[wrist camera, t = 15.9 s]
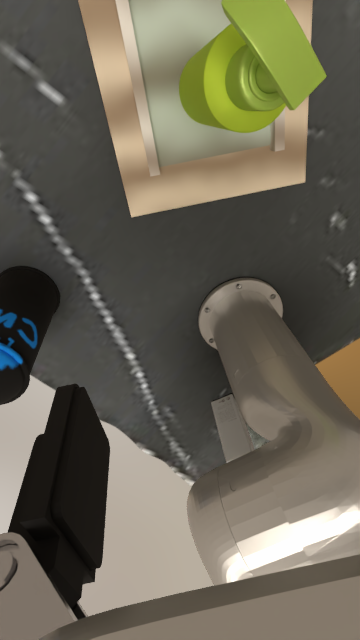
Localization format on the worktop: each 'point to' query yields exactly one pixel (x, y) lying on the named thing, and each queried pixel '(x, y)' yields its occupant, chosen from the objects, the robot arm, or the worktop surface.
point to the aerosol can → (23, 325)
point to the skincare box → (231, 428)
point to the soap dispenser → (250, 68)
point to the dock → (181, 107)
